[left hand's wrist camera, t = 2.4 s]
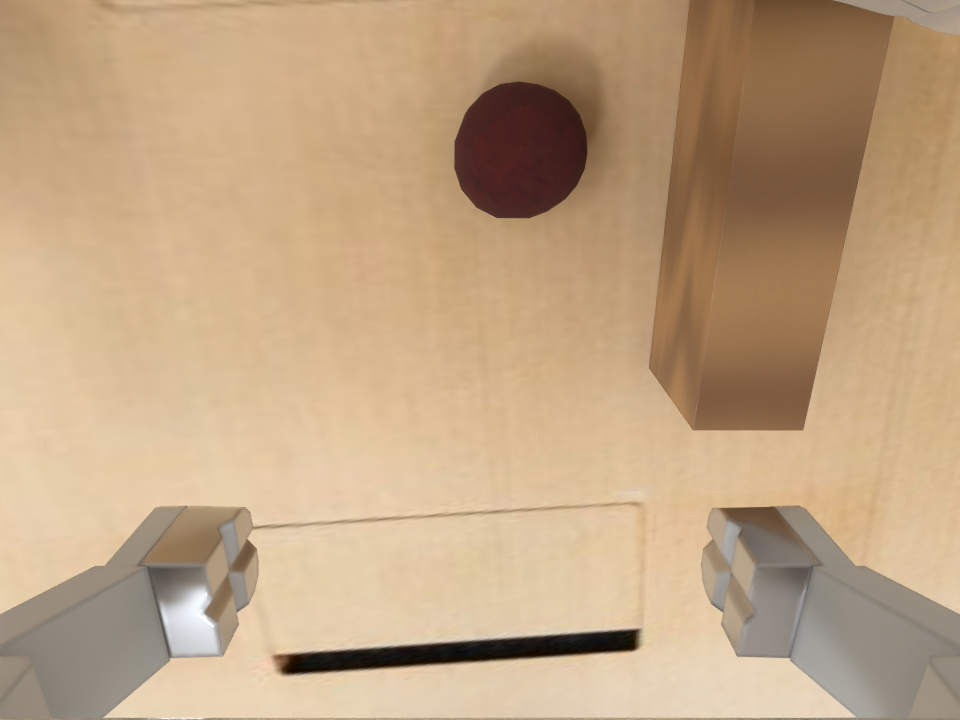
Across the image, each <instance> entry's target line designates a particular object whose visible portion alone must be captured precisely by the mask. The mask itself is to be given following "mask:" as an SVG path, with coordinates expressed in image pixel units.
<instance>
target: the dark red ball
mask: <svg viewBox="0 0 960 720" xmlns="http://www.w3.org/2000/svg"><path fill="white" fill-rule="evenodd" d="M586 157H587V141H586V132H585V129H584V126H583V123H582V120H581V117H580V115H579V113H578V112H577V111H576V109H575V108H574V107H573V106H572V104H571V103H570V102H569V100H567V99H566V98H564V97H563V96H561V95H560V94H559V93H557V92H556V91H554V90H551V89H549V88H546V87H543V86H541V85H538V84H531V83H524V82H513V83H505V84H500V85H498V86H496V87H494V88H492V89H490V90H488V91H486V92H485V93H483V94H482V95H481V96H480V97H479V98H478V99H477V100H476V101H475V102H474V103H473V104H472V105H471V107H470V108H469V109H468V110H467V112H466V114H465V116H464V118H463V121H462V124H461V126H460V129H459V132H458V134H457V137H456V140H455V166H454V168H455V171H456V174H457V177H458V180H459V183H460V186H461V189H462V191H463V192H464V193H465V194H466V195H467V197H468V198H469V199H470V200H471V201H472V203H473V204H474V205H475V206H476V207H477V208H478V209H480V210H482V211H484V212H486V213H488V214H490V215H492V216H494V217H496V218H531V217H533V216H536V215H539V214H541V213H544V212H547V211H548V210H550V209H551V208H553V207H554V206H556V205H557V204H559V203H560V202H562V201H563V200H565V199H566V198H567V196H568V195H569V194H570V193H571V192H572V191H573V189H574V188H575V187H576V186H577V184H578V182H579V180H580V178H581V175H582V173H583V171H584V169H585V163H586Z"/></svg>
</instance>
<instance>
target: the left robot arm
mask: <svg viewBox="0 0 960 720" xmlns="http://www.w3.org/2000/svg"><path fill="white" fill-rule="evenodd" d="M252 529H253V524H252V519H251V514H250V511H249V510H248V509H246V508H245V507H211V506H189V507H188V506H161V507H158V508H155V509H154V510H153V511H152V512H151V513H150V514H149V515H148V517H147V518H146V519H145V520H144V521H143V522H142V523H141V525H140V526H139V527H138V528H137V529H136V530H135V531H134V533H133V534H132V535H131V536H130V537H129V538H128V540H127V541H126V542H125V543H124V544H123V545H122V546H121V548H120V549H119V550H118V551H117V552H116V553H115V554H114V556H113V557H112V558H111V559H110V560H109V561H108V563H107V564H106V565H105V566H94V567H92V568H90V569H89V570H87V571H85V572H83V573H81V574H79V575H77V576H75V577H73V578H71V579H69V580H67V581H65V582H63V583H61V584H59V585H57V586H55V587H53V588H51V589H49V590H47V591H45V592H43V593H41V594H39V595H37V596H35V597H33V598H32V599H30V600H28V601H26V602H24V603H22V604H20V605H18V606H16V607H14V608H12V609H10V610H8V611H6V612H4V613H2V614H0V720H960V614H958V613H956V612H954V611H952V610H950V609H948V608H946V607H944V606H942V605H940V604H938V603H936V602H934V601H932V600H930V599H928V598H926V597H924V596H922V595H920V594H919V593H917V592H915V591H913V590H911V589H909V588H907V587H905V586H903V585H901V584H899V583H897V582H895V581H893V580H891V579H889V578H887V577H885V576H883V575H881V574H879V573H877V572H875V571H873V570H871V569H870V568H868V567H866V566H855V565H854V564H853V563H852V561H851V560H850V559H849V558H848V557H847V556H846V554H845V553H844V552H843V551H842V550H841V549H840V548H839V546H838V545H837V544H836V543H835V542H834V541H833V540H832V538H831V537H830V536H829V535H828V534H827V533H826V532H825V530H824V529H823V528H822V527H821V526H820V525H819V523H818V522H817V521H816V520H815V519H814V518H813V517H812V515H811V514H810V513H809V512H808V511H807V510H806V509H805V508H803V507H801V506H770V507H744V508H712V510H711V512H710V514H709V518H708V523H707V529H708V531H709V533H710V535H711V536H712V538H713V539H712V540H711V541H710V542H709V543H708V544H707V545H706V547H705V548H704V549H703V555H702V563H701V568H702V580H703V584H704V587H705V591H706V594H707V596H708V598H709V600H710V602H711V604H712V605H713V606H715V607H716V608H717V609H719V610H720V611H722V612H723V617H722V623H721V625H722V627H723V629H724V631H725V633H726V635H727V637H728V639H729V641H730V643H731V645H732V647H733V649H734V651H735V653H736V655H737V657H773V658H791V659H790V661H791V662H792V663H794V664H795V665H796V666H797V667H798V668H799V669H801V670H802V671H803V672H804V673H805V674H807V675H808V676H809V677H810V678H811V679H812V680H814V681H815V682H816V683H817V684H818V685H820V686H821V687H822V688H823V689H824V690H825V691H827V692H828V693H829V694H830V695H831V696H832V697H834V698H835V699H836V700H837V701H838V702H840V703H841V704H842V705H843V706H844V707H845V708H847V709H848V710H849V711H850V712H851V713H852V714H854V715H855V716H856V717H857V718H103V717H104V716H105V715H107V714H108V713H109V712H110V711H111V710H112V709H114V708H115V707H116V706H117V705H118V704H120V703H121V702H122V701H123V700H124V699H125V698H127V697H128V696H129V695H130V694H131V693H132V692H134V691H135V690H136V689H137V688H138V687H140V686H141V685H142V684H143V683H144V682H145V681H147V680H148V679H149V678H150V677H151V676H153V675H154V674H155V673H156V672H157V671H158V670H160V669H161V668H162V667H163V666H164V665H166V664H167V663H168V662H169V661H170V659H169V658H187V657H221V656H223V655H224V653H225V651H226V649H227V647H228V645H229V643H230V641H231V639H232V637H233V635H234V633H235V631H236V629H237V627H238V625H239V623H238V617H237V612H238V611H240V610H241V609H243V608H244V607H245V606H247V605H248V604H249V602H250V600H251V598H252V596H253V594H254V591H255V587H256V583H257V578H258V563H259V560H258V554H257V549H256V548H255V547H254V545H253V544H252V543H251V542H250V541H249V540H248V539H247V538H248V536H249V535H250V533H251V531H252Z"/></svg>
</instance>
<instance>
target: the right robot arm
mask: <svg viewBox="0 0 960 720" xmlns="http://www.w3.org/2000/svg"><path fill="white" fill-rule="evenodd" d="M834 1H838V2H843V3H846V4H850V5H853V6H857V7H860V8H863V9H867V10H870V11H873V12H877V13H881V14H885V15H890V16H896V17H906V18H907V19H909V20H910V21H912V22H914V23H916V24H918V25H920V26H922V27H925V28H928V29H930V30H933V31H937V32H941V33H946V34H953V35H960V0H834Z"/></svg>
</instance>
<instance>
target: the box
mask: <svg viewBox="0 0 960 720" xmlns="http://www.w3.org/2000/svg"><path fill="white" fill-rule="evenodd" d="M893 19H894V16H890V15H885V14H881V13H877V12H873V11H870V10H867V9H863V8H860V7H857V6H853V5H850V4H846V3H843V2H838V1H834V0H690V5H689V14H688V23H687V32H686V41H685V50H684V59H683V68H682V77H681V86H680V95H679V104H678V113H677V122H676V131H675V140H674V149H673V158H672V167H671V176H670V185H669V194H668V203H667V212H666V221H665V230H664V239H663V248H662V257H661V266H660V275H659V284H658V293H657V302H656V311H655V320H654V329H653V338H652V347H651V356H650V365H649V369H650V370H651V371H652V373H653V374H654V376H655V377H656V379H657V380H658V381H659V383H660V384H661V386H662V387H663V388H664V390H665V391H666V393H667V394H668V396H669V397H670V398H671V400H672V401H673V403H674V404H675V405H676V407H677V408H678V410H679V411H680V413H681V414H682V415H683V417H684V418H685V420H686V421H687V422H688V424H689V425H690V427H691V428H692V430H803V429H804V424H805V420H806V415H807V411H808V406H809V402H810V397H811V392H812V388H813V383H814V379H815V374H816V370H817V365H818V361H819V356H820V351H821V347H822V342H823V338H824V333H825V329H826V324H827V320H828V315H829V311H830V306H831V301H832V297H833V292H834V288H835V283H836V279H837V274H838V270H839V265H840V261H841V256H842V251H843V247H844V242H845V238H846V233H847V229H848V224H849V220H850V215H851V210H852V206H853V201H854V197H855V192H856V188H857V183H858V179H859V174H860V170H861V165H862V160H863V156H864V151H865V147H866V142H867V138H868V133H869V129H870V124H871V119H872V115H873V110H874V106H875V101H876V97H877V92H878V88H879V83H880V79H881V74H882V69H883V65H884V60H885V56H886V51H887V47H888V42H889V38H890V33H891V29H892V24H893Z"/></svg>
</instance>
